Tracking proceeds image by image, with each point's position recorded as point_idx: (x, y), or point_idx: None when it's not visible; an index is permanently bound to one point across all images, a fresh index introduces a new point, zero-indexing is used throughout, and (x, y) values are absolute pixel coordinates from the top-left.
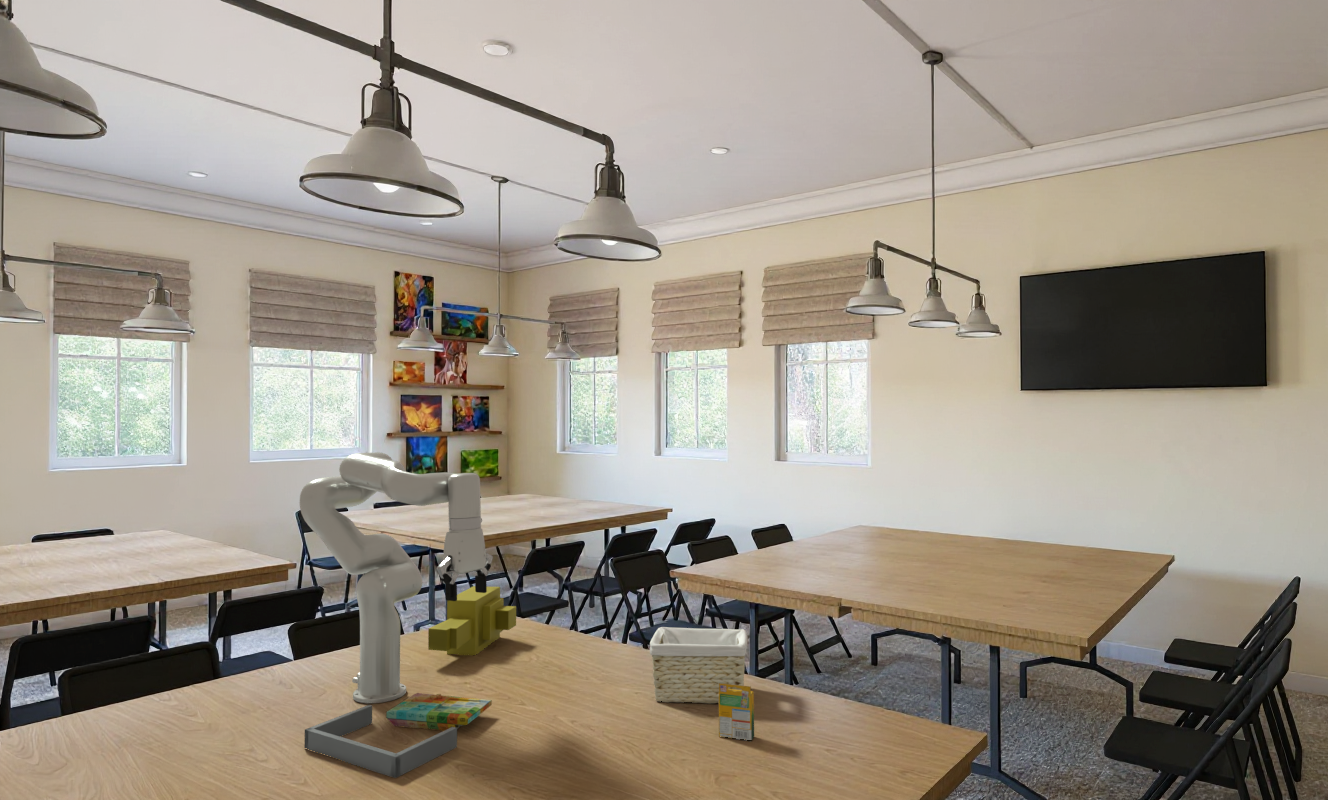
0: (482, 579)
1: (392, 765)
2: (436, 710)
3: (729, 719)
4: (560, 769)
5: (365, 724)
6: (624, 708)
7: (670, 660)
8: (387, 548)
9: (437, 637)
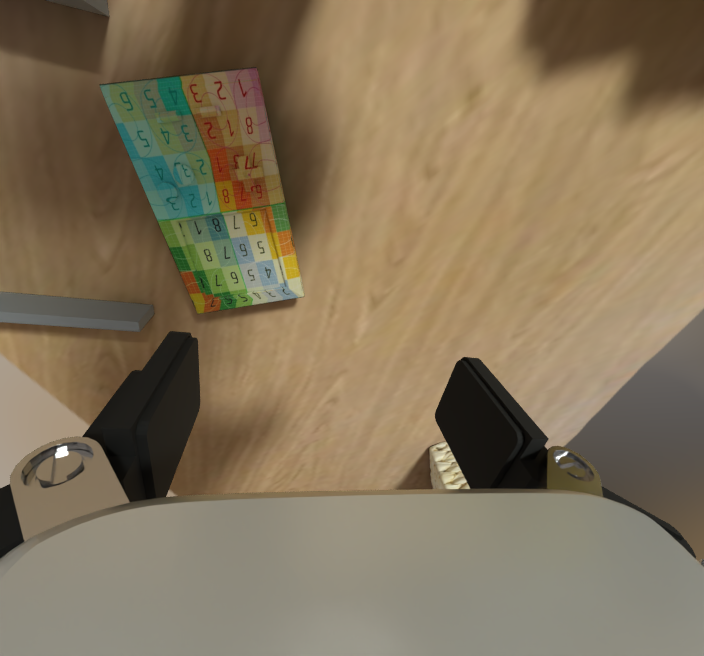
0: (476, 477)
1: None
2: (193, 223)
3: None
4: (191, 453)
5: (79, 7)
6: (398, 428)
7: None
8: None
9: None
